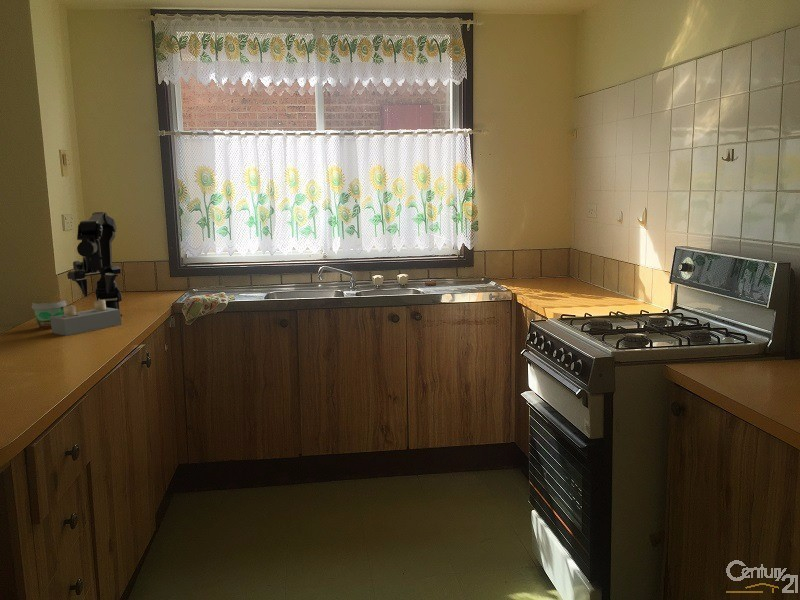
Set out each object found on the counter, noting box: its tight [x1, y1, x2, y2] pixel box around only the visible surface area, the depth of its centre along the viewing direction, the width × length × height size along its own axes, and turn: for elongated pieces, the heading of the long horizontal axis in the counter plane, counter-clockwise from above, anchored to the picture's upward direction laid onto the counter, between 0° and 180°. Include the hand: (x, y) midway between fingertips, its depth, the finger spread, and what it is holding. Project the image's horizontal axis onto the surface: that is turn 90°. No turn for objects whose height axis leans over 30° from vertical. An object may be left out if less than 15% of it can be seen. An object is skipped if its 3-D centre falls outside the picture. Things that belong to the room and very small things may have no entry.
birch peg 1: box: [63, 304, 77, 317], centre depth 263 cm, size 4×4×6 cm
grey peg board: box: [50, 307, 122, 337], centre depth 268 cm, size 22×10×6 cm, turn 143°
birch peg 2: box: [93, 299, 106, 312], centre depth 273 cm, size 4×4×6 cm
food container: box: [31, 299, 68, 330], centre depth 272 cm, size 12×6×10 cm, turn 105°
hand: (97, 295), depth 272 cm, fingers open, 9 cm apart
